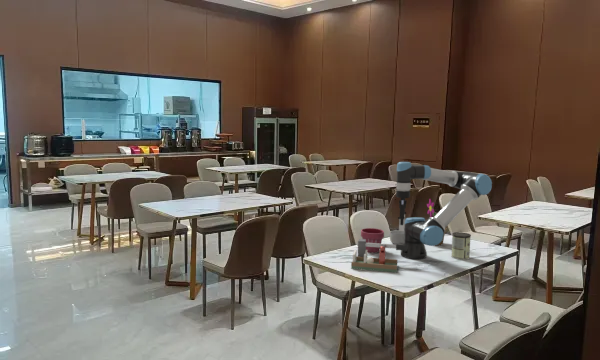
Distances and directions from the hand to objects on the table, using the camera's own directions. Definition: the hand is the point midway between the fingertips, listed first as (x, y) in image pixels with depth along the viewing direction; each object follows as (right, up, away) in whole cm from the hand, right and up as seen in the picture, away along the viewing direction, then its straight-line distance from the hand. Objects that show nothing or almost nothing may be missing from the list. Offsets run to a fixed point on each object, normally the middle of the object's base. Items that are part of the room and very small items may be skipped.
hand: (401, 228), depth 248 cm
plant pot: (-12, -17, +30) cm, 36 cm away
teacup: (+8, -15, +49) cm, 52 cm away
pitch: (-15, -21, -1) cm, 26 cm away
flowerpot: (+33, -16, +49) cm, 61 cm away
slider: (-12, -19, 0) cm, 22 cm away
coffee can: (+39, -19, +18) cm, 47 cm away
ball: (-18, -17, -3) cm, 25 cm away
